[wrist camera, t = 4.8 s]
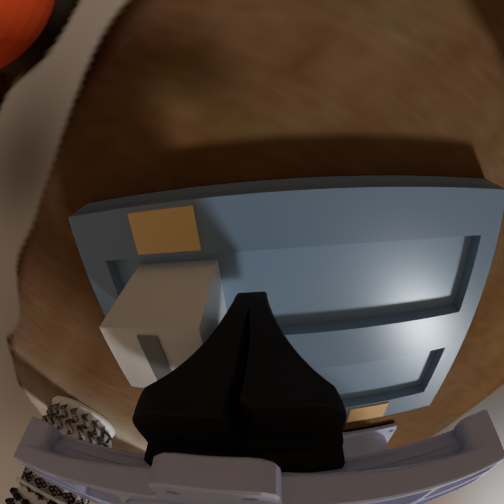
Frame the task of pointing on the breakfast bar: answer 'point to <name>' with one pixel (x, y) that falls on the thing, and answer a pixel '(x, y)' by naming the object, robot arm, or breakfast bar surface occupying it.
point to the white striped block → (163, 317)
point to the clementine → (21, 26)
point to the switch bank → (324, 267)
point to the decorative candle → (71, 424)
